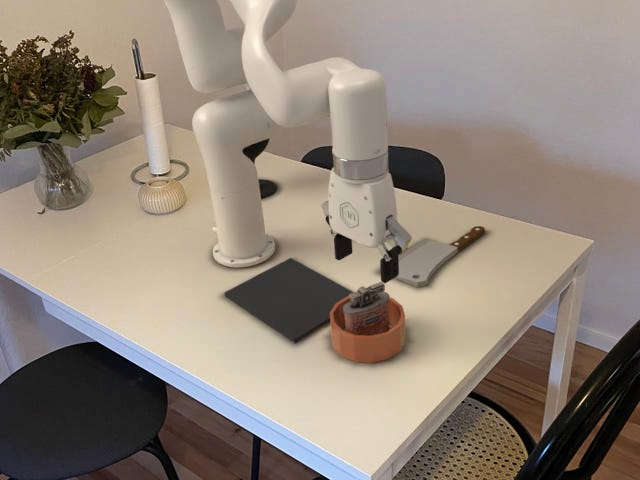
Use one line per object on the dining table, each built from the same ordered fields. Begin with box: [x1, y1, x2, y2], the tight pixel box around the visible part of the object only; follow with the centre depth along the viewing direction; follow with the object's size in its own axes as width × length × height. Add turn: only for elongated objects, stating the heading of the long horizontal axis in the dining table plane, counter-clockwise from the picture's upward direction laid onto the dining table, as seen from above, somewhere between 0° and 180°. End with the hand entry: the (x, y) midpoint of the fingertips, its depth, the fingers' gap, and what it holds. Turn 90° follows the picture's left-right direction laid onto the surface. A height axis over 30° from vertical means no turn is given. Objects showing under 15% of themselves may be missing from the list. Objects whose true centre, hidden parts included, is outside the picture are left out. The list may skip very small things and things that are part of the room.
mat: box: [224, 257, 354, 344], centre depth 120 cm, size 20×16×1 cm
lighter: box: [343, 281, 391, 336], centre depth 106 cm, size 8×3×10 cm, turn 117°
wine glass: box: [242, 138, 278, 200], centre depth 154 cm, size 10×10×20 cm
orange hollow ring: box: [329, 296, 406, 364], centre depth 108 cm, size 12×12×5 cm
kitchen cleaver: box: [379, 225, 486, 288], centre depth 129 cm, size 24×1×10 cm
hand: (366, 267), depth 101 cm, fingers open, 9 cm apart
